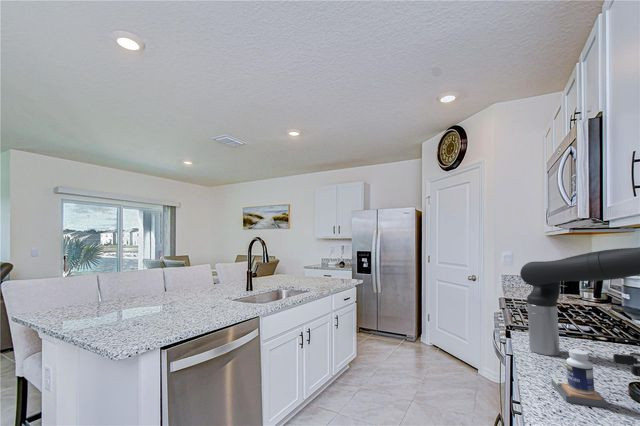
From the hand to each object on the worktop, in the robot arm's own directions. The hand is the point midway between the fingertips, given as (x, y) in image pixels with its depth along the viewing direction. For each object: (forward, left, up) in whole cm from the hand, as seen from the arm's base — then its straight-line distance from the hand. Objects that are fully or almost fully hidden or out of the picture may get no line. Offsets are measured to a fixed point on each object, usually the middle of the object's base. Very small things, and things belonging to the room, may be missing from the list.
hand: (622, 364), depth 80 cm
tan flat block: (-2, -9, -10) cm, 14 cm away
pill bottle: (0, -9, -8) cm, 12 cm away
